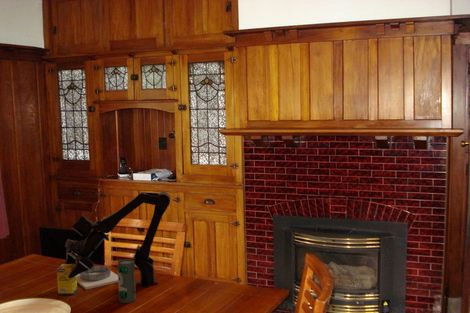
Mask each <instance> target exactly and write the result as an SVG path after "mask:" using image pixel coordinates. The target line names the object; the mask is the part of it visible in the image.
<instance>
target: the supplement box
mask: <svg viewBox="0 0 470 313" xmlns="http://www.w3.org/2000/svg"><path fill="white" fill-rule="evenodd" d="M75 265H76V264H64V263H62V264H61V265H60V266H59V267H57V268H56V277H57V280H56V281H57V295H58V296H73V295H74V294H75V293H76V292H77V291H78V282H77V276H75V277H73V278H71V279H70V278H68V276H69V274H70V273H71V271H72V270H73V268H74V267H75Z"/></svg>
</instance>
